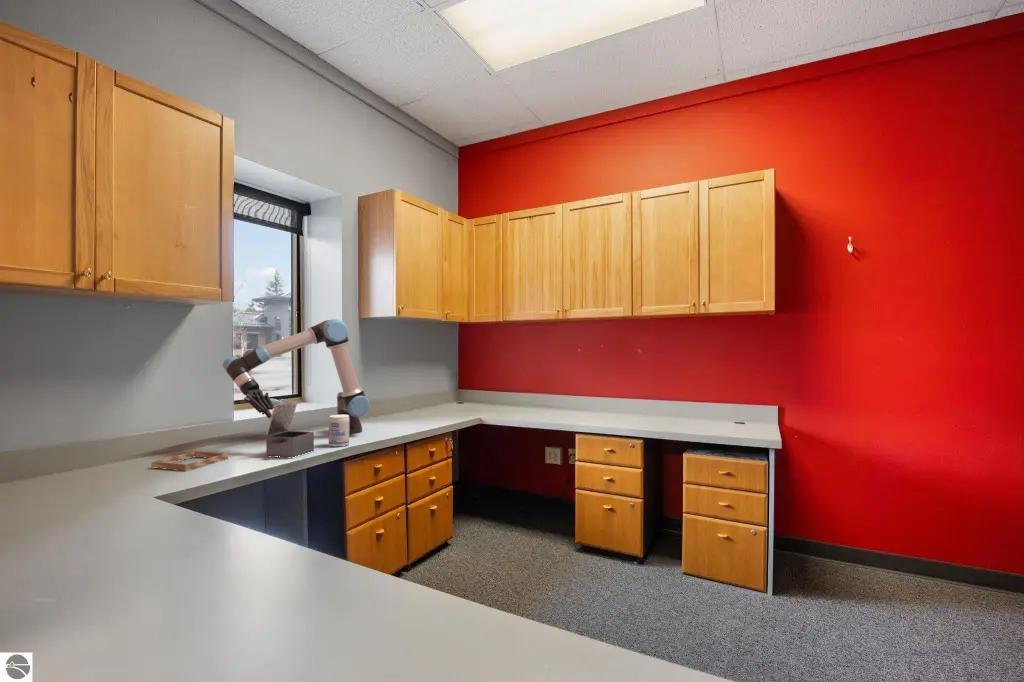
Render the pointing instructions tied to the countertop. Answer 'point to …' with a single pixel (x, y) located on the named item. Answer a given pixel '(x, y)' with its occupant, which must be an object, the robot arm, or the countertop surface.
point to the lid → (281, 418)
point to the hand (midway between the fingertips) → (276, 422)
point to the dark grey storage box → (289, 443)
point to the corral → (210, 459)
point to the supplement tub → (338, 430)
